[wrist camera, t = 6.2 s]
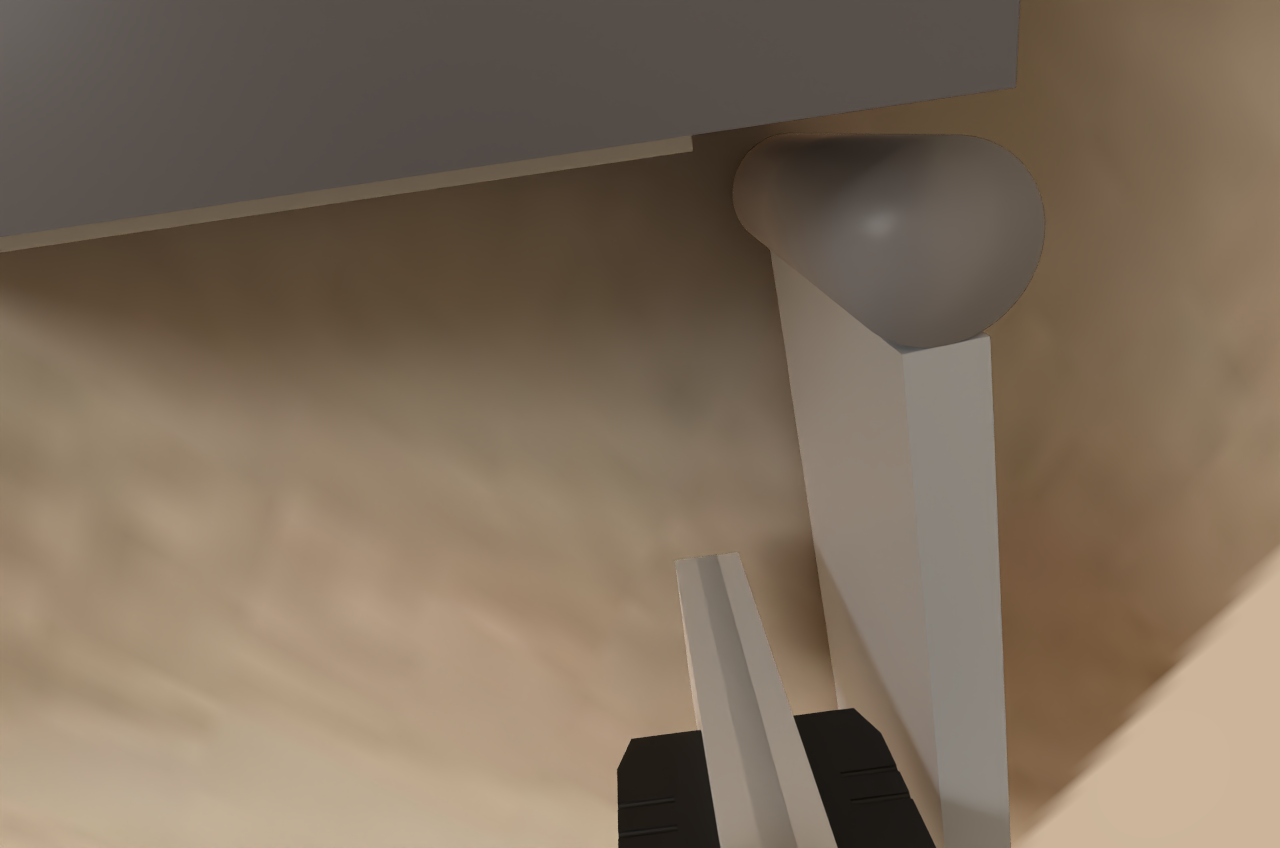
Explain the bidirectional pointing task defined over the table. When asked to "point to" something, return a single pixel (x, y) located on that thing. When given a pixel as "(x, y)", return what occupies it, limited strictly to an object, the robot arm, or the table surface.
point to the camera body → (425, 93)
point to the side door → (904, 432)
